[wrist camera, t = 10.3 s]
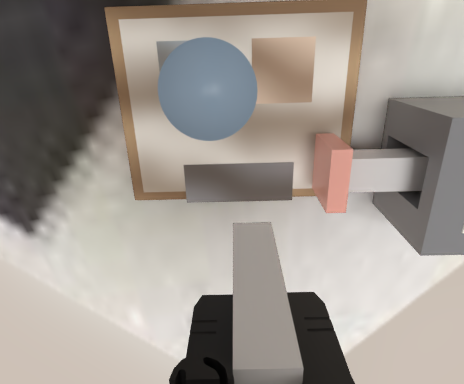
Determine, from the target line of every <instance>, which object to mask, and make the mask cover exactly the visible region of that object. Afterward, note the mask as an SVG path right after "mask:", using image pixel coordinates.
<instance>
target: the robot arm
mask: <svg viewBox="0 0 464 384" xmlns="http://www.w3.org/2000/svg"><path fill="white" fill-rule="evenodd" d="M169 383H170V384H355V383H354V381H353V379H352V377H351V374H350V372H349V369H348V366H347V363H346V361H345V358H344V355H343V352H342V350H341V347H340V344H339V342H338V339H337V336H336V333H335V331H334V328H333V325H332V322H331V320H330V318H329V314H328V311H327V309H326V306H325V303H324V302H323V301H322V300H321V299H320V298H319V297H318V296H317V295H316V294H315V293H314V292H291V293H287V292H286V287H285V283H284V278H283V274H282V269H281V265H280V260H279V256H278V251H277V247H276V243H275V238H274V234H273V229H272V225H271V222H261V223H233V295H202V297H201V298H200V299H199V301H198V302H197V304H196V305H195V306H194V311H193V317H192V323H191V330H190V336H189V342H188V349H187V355H186V358H185V359H183V360H181V361H180V362H179V364H178V365H177V366H176V367H175V368H174V369H173V372H172V374H171V376H170V379H169Z"/></svg>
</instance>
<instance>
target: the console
mask: <svg viewBox="0 0 464 384" xmlns="http://www.w3.org/2000/svg"><path fill="white" fill-rule="evenodd" d="M401 148H413V149H414V150H416V151H418V152H420V153H422V154H424V155H425V156H427V157H429V161H428V165H427V170H426V174H425V179H424V184H423V188H422V191H393V192H374V198H373V204H374V205H375V206H376V207H377V208H378V210H379V211H380V212H381V213H382V214H383V215H384V216H385V217H386V218H387V219H388V221H389V222H390V223H391V224H392V225H393V226H394V227H395V228H396V229H397V230H398V231H399V233H400V234H401V235H402V236H403V237H404V238H405V239H406V240H407V241H408V242H409V244H410V245H411V246H412V247H413V248H414V249H415V250H416V251H417V252H418V253H419V255H420V256H421V255H464V96H455V97H420V98H389V101H388V108H387V114H386V121H385V127H384V134H383V140H382V146H381V149H401Z"/></svg>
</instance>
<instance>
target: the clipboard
mask: <svg viewBox="0 0 464 384" xmlns="http://www.w3.org/2000/svg"><path fill="white" fill-rule="evenodd" d="M366 7H367V0H303V1H274V2H244V3H215V4H185V5H155V6H126V7H104V8H105V15H106V21H107V27H108V33H109V40H110V46H111V52H112V58H113V65H114V71H115V77H116V84H117V90H118V96H119V102H120V109H121V115H122V121H123V127H124V134H125V140H126V146H127V152H128V159H129V165H130V171H131V177H132V184H133V190H134V196H135V200H166V199H187V202H229V201H272V200H292V197H295V196H316V194H315V193H314V191H313V189H312V181H313V168H314V154H315V140H316V134H323V133H334V134H335V135H337V136H338V137H339V138H340V139H341V140H343V141H344V142H345V143H346V144H347V145H349V146H350V144H351V135H352V127H353V118H354V110H355V101H356V92H357V84H358V75H359V67H360V58H361V50H362V41H363V33H364V24H365V15H366ZM201 37H212V38H217V39H221V40H224V41H226V42H228V43H230V44H232V45H233V46H235V47H236V48H237V49H239V50H240V51H241V52H242V53H243V54H244V55H245V57H246V58H247V59H248V61H249V62H250V64H251V66H252V68H253V70H254V73H255V76H256V81H257V100H256V105H255V108H254V111H253V113H252V115H251V117H250V118H249V120H248V121H247V123H246V124H245V125H244V126H243V127H242V128H241V129H240V130H239V131H237V132H236V133H235V134H233V135H231V136H229V137H227V138H224V139H221V140H216V141H203V140H197V139H194V138H191V137H189V136H187V135H185V134H183V133H182V132H180V131H179V130H178V129H176V128H175V127H174V126H173V125H172V124H171V123H170V121H169V120H168V119H167V117H166V115H165V114H164V112H163V110H162V107H161V104H160V101H159V96H158V79H159V74H160V71H161V68H162V66H163V64H164V62H165V60H166V59H167V57H168V56H169V54H170V53H171V52H172V51H173V50H174V49H176V48H177V47H178V46H179V45H181V44H183V43H184V42H187V41H189V40H191V39H195V38H201Z"/></svg>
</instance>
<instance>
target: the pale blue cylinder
mask: <svg viewBox="0 0 464 384" xmlns="http://www.w3.org/2000/svg"><path fill="white" fill-rule="evenodd" d="M158 96H159V101H160V104H161V107H162V110H163V112H164V114H165V115H166V117H167V119H168V120H169V121H170V123H171V124H172V125H173V126H174V127H175V128H176V129H178V130H179V131H180V132H182V133H183V134H185V135H187V136H189V137H191V138H194V139H197V140H203V141H216V140H221V139H224V138H227V137H229V136H231V135H233V134H235V133H236V132H237V131H239V130H240V129H241V128H242V127H243V126H244V125H245V124H246V123H247V121H248V120H249V118H250V117H251V115H252V113H253V111H254V108H255V105H256V100H257V81H256V76H255V73H254V70H253V68H252V66H251V64H250V62H249V61H248V59H247V58H246V57H245V55H244V54H243V53H242V52H241V51H240V50H239V49H237V48H236V47H235V46H233V45H232V44H230V43H228V42H226V41H224V40H221V39H217V38H212V37H201V38H195V39H191V40H189V41H187V42H184V43H183V44H181V45H179V46H178V47H177V48H176V49H174V50H173V51H172V52H171V53H170V54H169V56H168V57H167V59H166V60H165V62H164V64H163V66H162V68H161V71H160V74H159V79H158Z"/></svg>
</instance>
